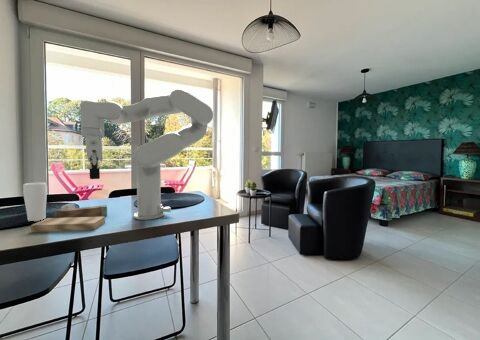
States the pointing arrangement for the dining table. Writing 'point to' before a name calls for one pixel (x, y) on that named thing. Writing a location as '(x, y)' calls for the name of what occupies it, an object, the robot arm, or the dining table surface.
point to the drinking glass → (35, 200)
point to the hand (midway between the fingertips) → (94, 177)
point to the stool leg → (82, 212)
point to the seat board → (68, 224)
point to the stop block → (69, 206)
